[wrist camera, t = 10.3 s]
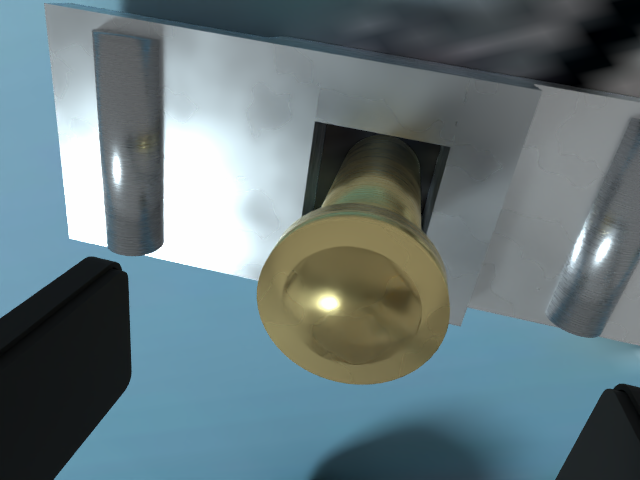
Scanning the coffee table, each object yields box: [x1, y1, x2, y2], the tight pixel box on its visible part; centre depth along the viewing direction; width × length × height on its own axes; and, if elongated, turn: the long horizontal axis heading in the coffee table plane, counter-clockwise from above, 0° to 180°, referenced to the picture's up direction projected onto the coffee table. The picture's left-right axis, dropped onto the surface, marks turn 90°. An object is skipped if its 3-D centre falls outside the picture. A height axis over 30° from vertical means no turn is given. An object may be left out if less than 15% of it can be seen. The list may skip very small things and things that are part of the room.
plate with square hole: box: [44, 3, 640, 346], centre depth 18 cm, size 24×9×4 cm, turn 82°
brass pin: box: [257, 135, 450, 384], centre depth 15 cm, size 4×4×10 cm
